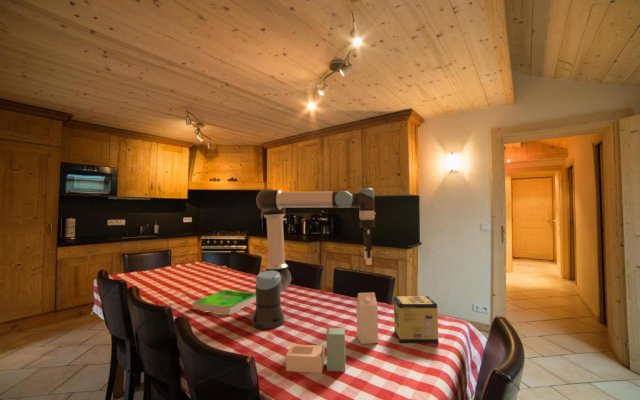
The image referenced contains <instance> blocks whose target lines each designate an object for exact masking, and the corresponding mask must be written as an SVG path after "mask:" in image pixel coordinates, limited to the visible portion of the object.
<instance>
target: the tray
mask: <svg viewBox="0 0 640 400" xmlns="http://www.w3.org/2000/svg"><path fill="white" fill-rule="evenodd" d="M254 302H256V292H255V293H254V292H246V291H236V290H228V289H224V290H220V291H218V292H215V293H212V294H211V295H207V296H206V297H203V298H200V299H197V300H195V301H193V302H192V310H193V309H199V310H204V311H210V312H215V313H221V314H227V315H231V314H233V313H235V312H237V311H239V310H240V309H242V308H244V307H246V306H248V305H250V304H252V303H254ZM254 304H255V303H254ZM252 305H253V304H252ZM239 312H240V311H239ZM237 313H238V312H237ZM235 314H236V313H235ZM233 315H234V314H233Z"/></svg>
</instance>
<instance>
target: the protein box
mask: <svg viewBox="0 0 640 400" xmlns="http://www.w3.org/2000/svg"><path fill="white" fill-rule="evenodd" d="M393 314H394V315H393V318H394V319H393V320H394V321H393V322H394V325H393V326H394V334H395V335H396V337H397V339H398V341H399V343H400V344H438V343H439V318H438V316H439V315H438V304H437V303H436V302H435V301H434V300H433V299H432V298H431V297H430V296H429V295H420V296H419V295H417V296H416V295H413V296H411V295H410V296H409V295H407V296H405V295H404V296H402V295H400V296H397V295H394V296H393Z"/></svg>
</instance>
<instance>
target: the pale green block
mask: <svg viewBox="0 0 640 400" xmlns="http://www.w3.org/2000/svg"><path fill="white" fill-rule="evenodd" d="M326 371H327V372H328V371H330V372H346V328H344V327H327V331H326Z"/></svg>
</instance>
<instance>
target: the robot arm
mask: <svg viewBox="0 0 640 400" xmlns="http://www.w3.org/2000/svg"><path fill="white" fill-rule="evenodd" d="M374 190H375V189H373V188H371V187H369V188H367V187H365V188H359V190H358V192H349V191H347V190H340V191H339V190H336V191H334V190H333V191H332V190H331V191H329V190H328V191H325V190H324V191H283V190H281V189H272V188H265V189H261V190H260V191H259V192H258V194H257V195H256V199H255V203H256V205H257V207H258V209H260V210H261V211H262V212H263V213H262V214H263V217H264V218H265V219H266V232H267V236H266V237H267V254H268V256H267V257H268V264H267V265H266V266H265V270H264V271H262V272H259V273H258V274H257V275H256V277H255V293H256V303H255V309H254V313H253V316H252V319H251V320H252V321H251V322H252V323H251V324H252V326H253V327H254V328H256V329H261V330H270V329H275V328H279V327H281V326H283V324H284V323H285V315H284V311H283V309H282V305H281V302H282V301H281V294H282V293H283V292H285V290H287V288H288V287H289V286H290V284H291V281H292V276H291V272H290V271H289V264H287V263H286V255H285V237H284V234H285V233H284V217H285V216H286V208H289V209H290V208H338V209H339V208H341V209H344V208H345V209H348V208H359V209H358V210H359V212H358V213H359V215H358V216H359V219H360V220H359V228H363V231H362V235H363V258H364V259H363V260H365V265H367V266H368V265H371V266H372V264H373V262H372V261H373V259H372V257H373V255H372V251H373V247H372V246H373V244H372V233H373V232H372V229H371V228H375V227H376V223H375V222H376V221H375V217H376V215H377V213H376V212H375V205H376V204H375V191H374Z"/></svg>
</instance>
